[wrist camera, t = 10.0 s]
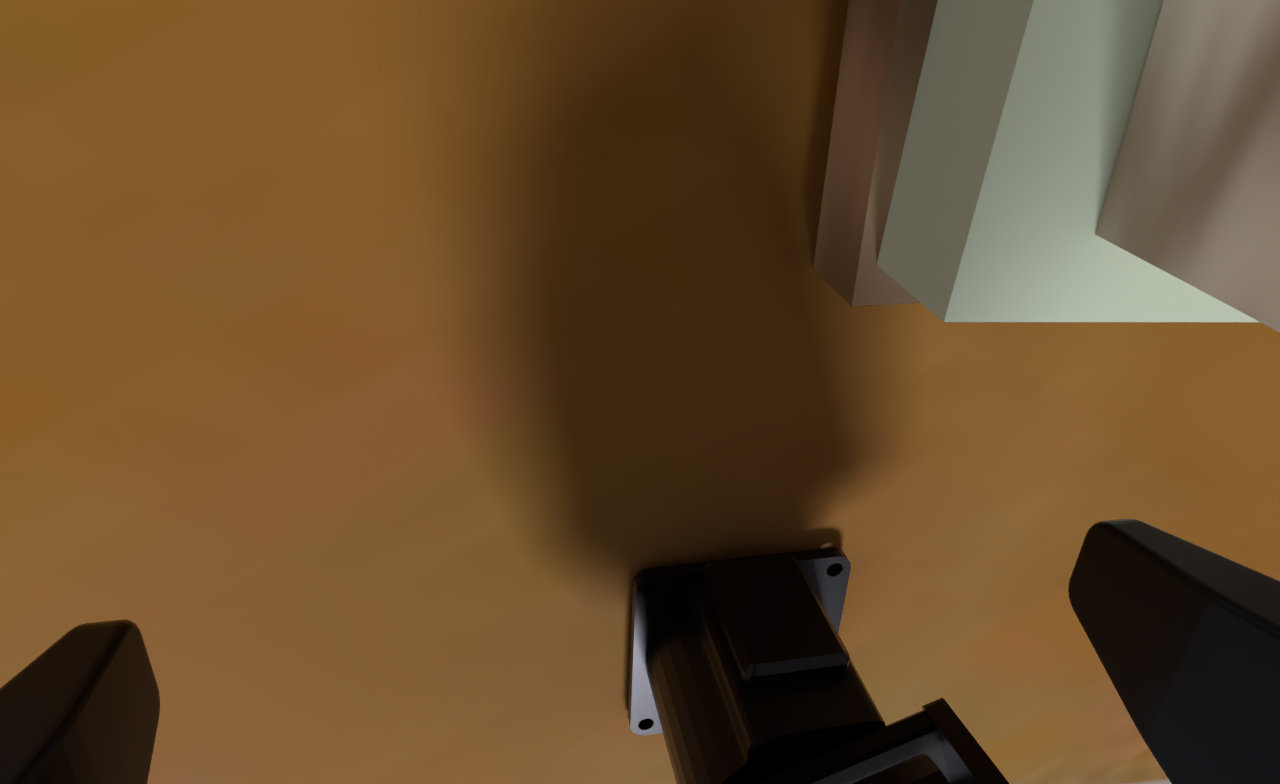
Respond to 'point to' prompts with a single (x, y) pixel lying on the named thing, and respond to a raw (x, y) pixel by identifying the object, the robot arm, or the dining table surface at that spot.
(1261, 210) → the cream cube
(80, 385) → the dining table surface
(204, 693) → the dining table surface
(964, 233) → the sage slab
